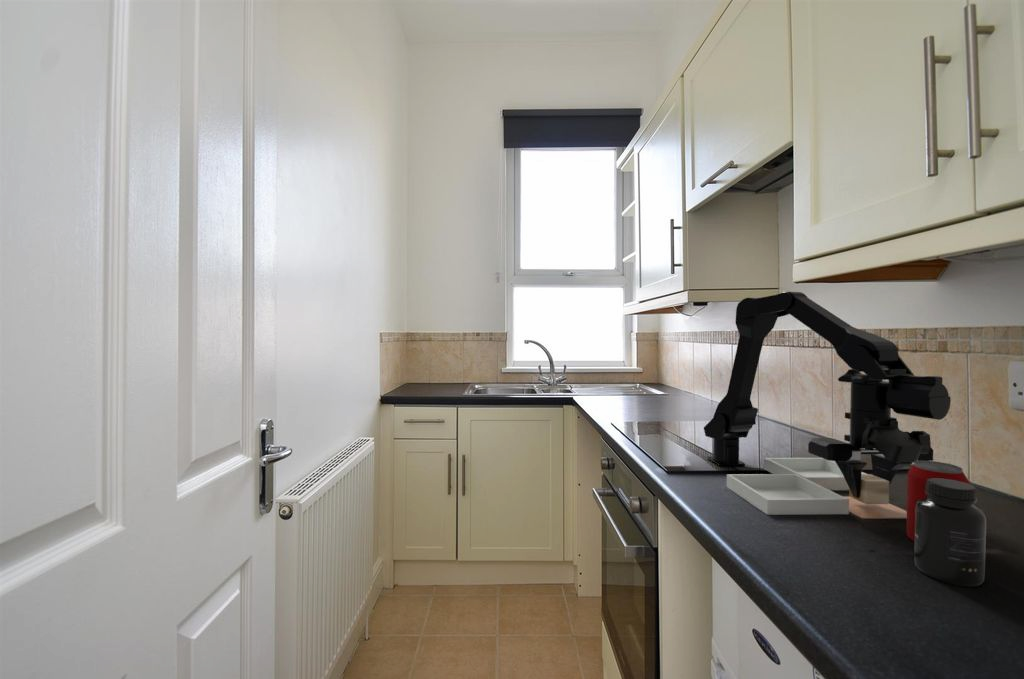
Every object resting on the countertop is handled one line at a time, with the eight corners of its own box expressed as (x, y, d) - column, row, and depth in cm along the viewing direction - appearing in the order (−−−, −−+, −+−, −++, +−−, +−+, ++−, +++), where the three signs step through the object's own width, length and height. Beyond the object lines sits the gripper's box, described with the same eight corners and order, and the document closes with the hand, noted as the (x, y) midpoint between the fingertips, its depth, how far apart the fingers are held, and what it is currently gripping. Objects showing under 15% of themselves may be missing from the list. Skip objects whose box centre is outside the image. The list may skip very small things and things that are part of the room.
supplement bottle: (901, 560, 66) (903, 474, 65) (954, 562, 65) (956, 476, 65) (940, 586, 59) (942, 490, 59) (1001, 590, 58) (1003, 493, 58)
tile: (821, 499, 89) (821, 496, 89) (873, 499, 89) (873, 496, 89) (862, 521, 79) (862, 517, 79) (920, 520, 79) (920, 517, 79)
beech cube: (849, 496, 86) (849, 474, 86) (870, 496, 86) (871, 474, 86) (866, 504, 82) (866, 481, 82) (888, 504, 82) (889, 481, 82)
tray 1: (726, 489, 95) (726, 474, 94) (796, 488, 95) (796, 474, 95) (767, 517, 80) (767, 499, 80) (848, 516, 81) (849, 499, 81)
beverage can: (949, 539, 72) (951, 461, 72) (979, 559, 66) (981, 474, 66) (897, 533, 74) (898, 457, 74) (921, 553, 68) (923, 469, 67)
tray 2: (763, 471, 107) (764, 457, 107) (825, 470, 107) (825, 457, 107) (804, 492, 93) (805, 477, 93) (875, 492, 93) (875, 477, 93)
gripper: (853, 418, 75) (850, 515, 76) (966, 418, 76) (963, 514, 76) (807, 406, 87) (805, 491, 87) (906, 406, 87) (904, 490, 87)
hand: (868, 497), depth 84 cm, fingers closed on beech cube, 4 cm apart
